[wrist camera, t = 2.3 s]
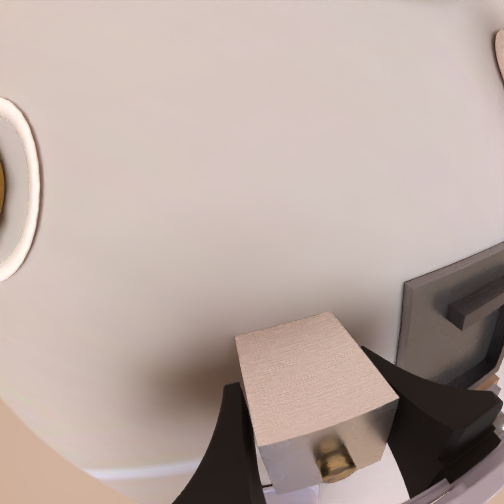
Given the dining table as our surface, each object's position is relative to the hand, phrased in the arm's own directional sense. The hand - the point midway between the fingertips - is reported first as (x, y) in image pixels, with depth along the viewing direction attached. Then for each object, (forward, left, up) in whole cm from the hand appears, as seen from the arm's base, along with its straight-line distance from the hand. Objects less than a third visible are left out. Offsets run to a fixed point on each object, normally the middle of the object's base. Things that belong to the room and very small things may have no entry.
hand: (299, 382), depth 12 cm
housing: (0, 0, -2) cm, 2 cm away
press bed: (-4, -13, -2) cm, 14 cm away
